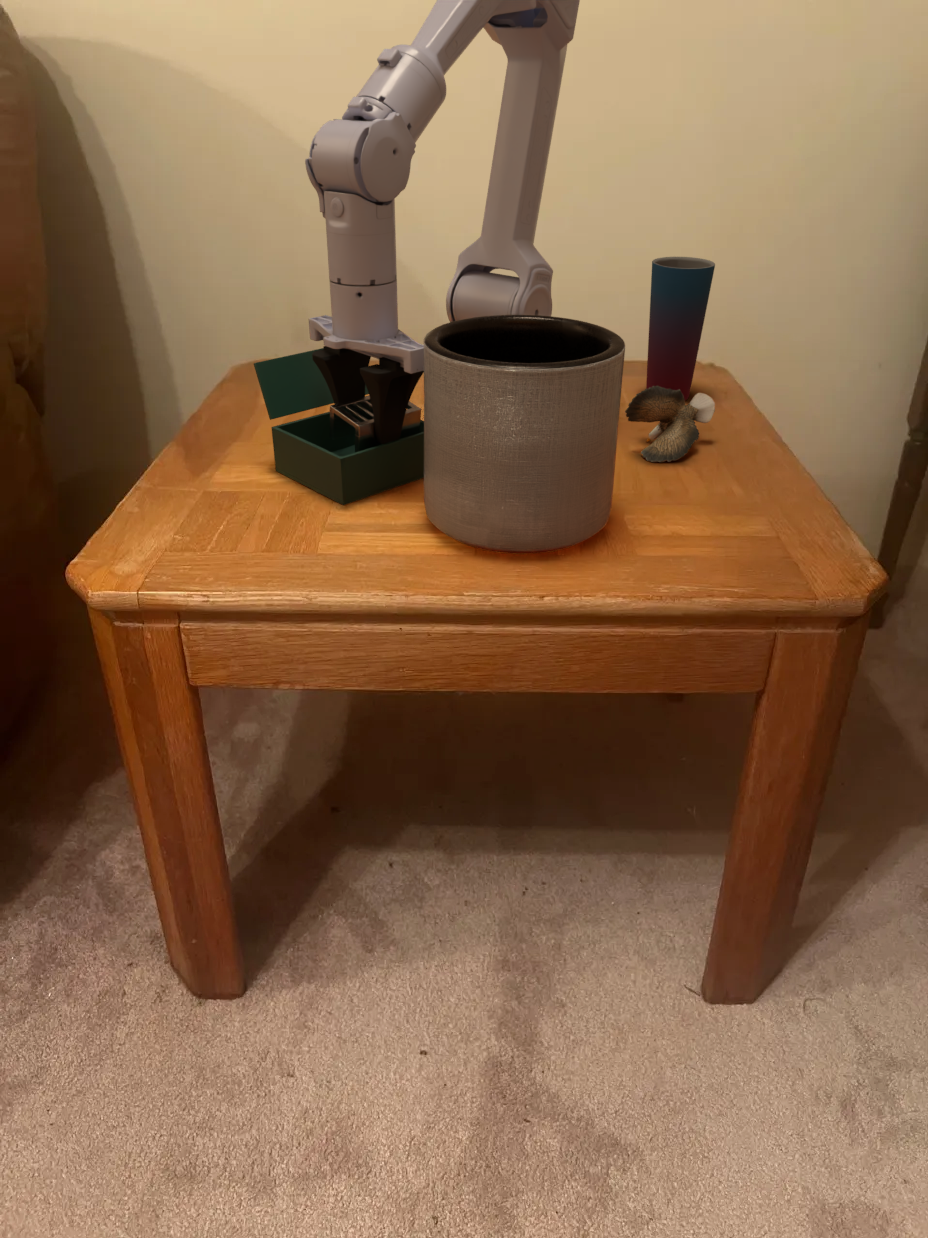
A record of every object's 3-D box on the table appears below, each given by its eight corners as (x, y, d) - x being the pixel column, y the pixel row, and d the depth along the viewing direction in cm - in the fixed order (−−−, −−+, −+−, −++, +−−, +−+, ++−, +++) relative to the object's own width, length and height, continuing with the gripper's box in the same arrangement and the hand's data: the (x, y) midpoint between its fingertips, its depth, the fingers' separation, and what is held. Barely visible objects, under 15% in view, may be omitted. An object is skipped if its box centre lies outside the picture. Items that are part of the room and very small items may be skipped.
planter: (422, 483, 88) (419, 313, 80) (592, 480, 89) (606, 312, 81) (426, 563, 75) (423, 367, 66) (627, 559, 75) (648, 365, 67)
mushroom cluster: (634, 415, 102) (605, 424, 94) (680, 363, 98) (653, 369, 90) (685, 464, 101) (659, 478, 93) (732, 414, 97) (710, 424, 89)
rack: (389, 419, 91) (391, 389, 89) (419, 439, 89) (421, 408, 87) (329, 437, 87) (329, 405, 85) (358, 458, 85) (359, 426, 83)
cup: (701, 405, 108) (721, 268, 101) (642, 404, 109) (657, 267, 101) (690, 387, 114) (708, 256, 107) (634, 386, 114) (647, 256, 107)
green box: (275, 470, 91) (271, 426, 88) (372, 441, 97) (370, 400, 95) (343, 505, 84) (340, 458, 82) (442, 471, 91) (442, 427, 88)
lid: (271, 419, 88) (269, 419, 88) (370, 393, 95) (368, 393, 95) (255, 362, 86) (253, 363, 87) (356, 340, 93) (354, 341, 94)
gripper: (275, 272, 82) (289, 422, 89) (379, 300, 73) (385, 465, 80) (340, 262, 86) (348, 406, 93) (447, 288, 77) (447, 445, 84)
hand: (370, 432), depth 87 cm, fingers closed on rack, 5 cm apart
